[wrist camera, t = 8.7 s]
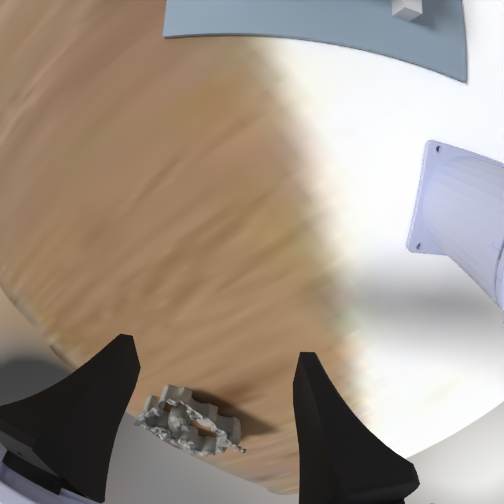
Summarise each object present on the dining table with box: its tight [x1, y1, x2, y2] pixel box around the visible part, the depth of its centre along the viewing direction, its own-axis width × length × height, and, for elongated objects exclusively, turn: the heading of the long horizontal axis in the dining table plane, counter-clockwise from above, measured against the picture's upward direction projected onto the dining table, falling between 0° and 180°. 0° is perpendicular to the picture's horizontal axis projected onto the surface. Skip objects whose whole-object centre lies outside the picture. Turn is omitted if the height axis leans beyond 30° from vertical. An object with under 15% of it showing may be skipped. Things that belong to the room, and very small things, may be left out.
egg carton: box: [134, 385, 246, 457], centre depth 27 cm, size 11×8×4 cm
